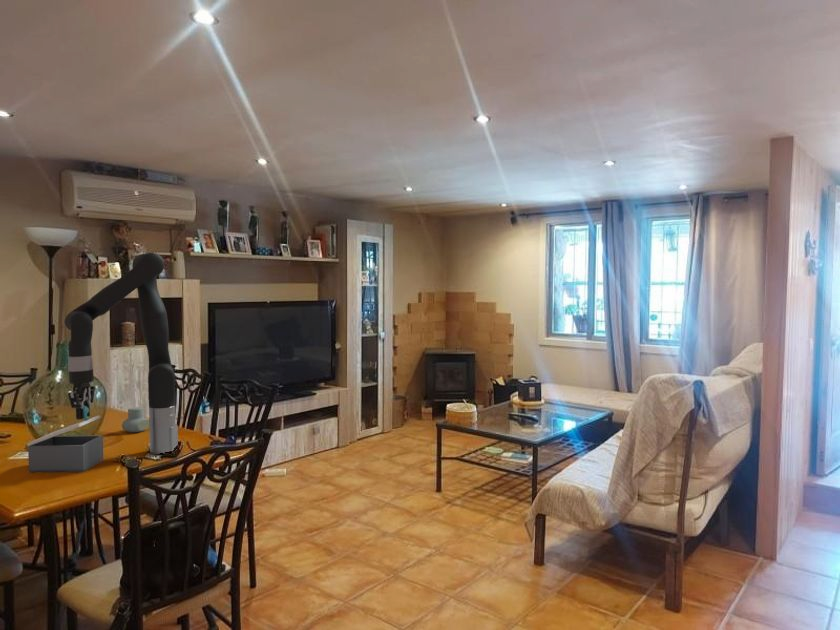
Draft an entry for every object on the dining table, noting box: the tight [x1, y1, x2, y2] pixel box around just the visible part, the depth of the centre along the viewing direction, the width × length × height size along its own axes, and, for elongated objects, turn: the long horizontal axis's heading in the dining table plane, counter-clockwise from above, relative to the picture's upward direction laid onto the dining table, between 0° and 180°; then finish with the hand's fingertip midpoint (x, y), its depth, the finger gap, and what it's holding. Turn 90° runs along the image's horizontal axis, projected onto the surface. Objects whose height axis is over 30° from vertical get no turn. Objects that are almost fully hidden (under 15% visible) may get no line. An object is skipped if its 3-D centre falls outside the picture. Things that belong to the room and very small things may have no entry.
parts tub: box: [27, 434, 105, 474], centre depth 209 cm, size 18×14×9 cm
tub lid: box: [26, 405, 101, 447], centre depth 208 cm, size 19×14×6 cm
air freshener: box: [121, 406, 149, 433], centre depth 260 cm, size 11×8×10 cm
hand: (83, 417), depth 208 cm, fingers closed on tub lid, 3 cm apart
